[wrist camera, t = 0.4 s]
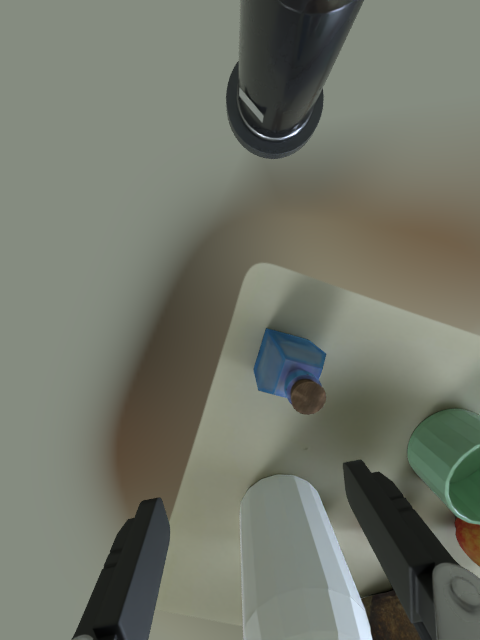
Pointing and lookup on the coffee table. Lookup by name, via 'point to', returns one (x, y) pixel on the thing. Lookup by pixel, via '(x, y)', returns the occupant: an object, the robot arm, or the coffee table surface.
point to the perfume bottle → (291, 370)
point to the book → (388, 618)
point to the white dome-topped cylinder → (294, 567)
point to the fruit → (469, 538)
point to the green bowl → (450, 460)
